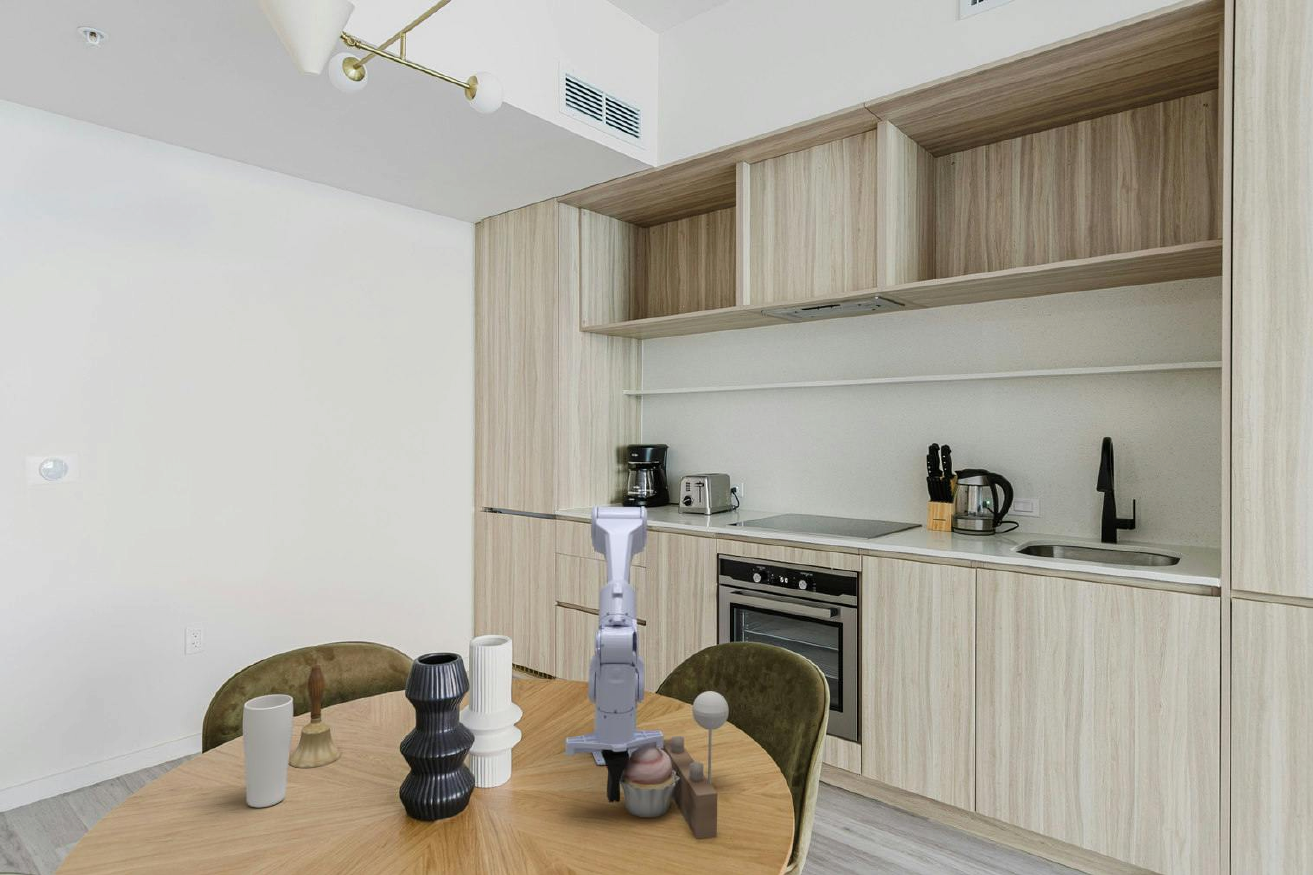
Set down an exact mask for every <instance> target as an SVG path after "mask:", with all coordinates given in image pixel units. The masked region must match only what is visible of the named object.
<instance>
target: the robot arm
mask: <svg viewBox="0 0 1313 875" xmlns="http://www.w3.org/2000/svg"><path fill="white" fill-rule="evenodd" d="M647 538H648V510H647V508H646V507H645V506H643V505H642V506H641V507H640V506H639V507H637V506H598V505H595V506H594V507H593V508H592V509H591V517H590V539H591V542H592V544H591V545H592V547H593V551H594V552H597V553H599V554H602V555H603V557H604V560H605V562H606V564H605V565H606V584H605V585H603V586H602V587H601V589H600V590H599V600H598V601H599V606H598V607H599V609H598V628H596V629H595V634H594V654H593V655H592V657H591V659H590V662H589V672H588V700H589V701H590V702H591V703H592V704H594V705H595V709H594V722H593V723H594V731H593V732H591V733H585V734H582V735H579V736H572V737H566V738H565V753H566V756H567V757H570V756H571V757H572V756H574V755H575V754H584V753H585V754H587V753H591V754H592V755H593V758H594V762H595V763H596V765H597V766H603V765H604V766H605V765H606V769H607V781H606V782H607V784H606V798H607V800H608V802H609V803H614V802H615V803H620V801H621V783H620V778H621V775H622V773H623V771H624V769H625V767H626V766H627V764H628V761H629V757H631V753H632V752H633V751H634V750H636V749H638V748H642V747H643V746H645V745H654V746H655V747H656V748H657V749H660V748H663V740H664V734H663V732H662V731H661V730H639V729H637V719H638V718H637V716H638V715H637V713H638V712H637V709H638V704H640V703H642V702H644V700H645V685H646V684H645V683H646V682H645V681H646V680H645V668H644V667H645V663H644V662H645V661H644V659H643V656H642V655H641V654H640V652H639V651H640V632H639V627H638V620H637V617H636V616H637V613H636V612H637V611H636V610H637V609H636V607H637V603H636V601H637V600H636V599H637V598H636V597H637V591H636V590H635V588H634V587H633V586H632V585H631V584H630V583H631V564H632V562H633V559H634V556H635V555H638V554H639V553H643V552H644V549H645V547H646V544H647Z"/></svg>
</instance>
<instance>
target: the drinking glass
mask: <svg viewBox="0 0 1313 875" xmlns="http://www.w3.org/2000/svg"><path fill="white" fill-rule="evenodd" d="M242 713H243V714H242V742H243V745H242V746H243V756H244V757H243V758H244V772H245V783H246V784H245V785H246V786H245V787H246V789H245V790H246V793H245V794H246V796H245V798H246V799H245V801H246V804H247V805H248V806H250V807H252V808H266V807H271V806H273V805H277V804H279V803H280V802H282V801H283V800H284V799H285V798H286V794H287V782H288V781H287V780H288V772H289V771H288V770H289V765H290V764H289V758H290V756H291V755H290V754H291V746H292V738H293V728H294V727H293V725H294V698H293V697H292V696H291V695H288V694H279V693H278V694H267V695H261V696H258V697H254V698H252V699H249V700H247V701H246V702H245V703H244V705H243V712H242Z"/></svg>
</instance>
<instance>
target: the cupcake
mask: <svg viewBox="0 0 1313 875" xmlns="http://www.w3.org/2000/svg"><path fill="white" fill-rule="evenodd" d="M679 779H680V778H679V777H678V776H676V772H675V771H674V770H672V765H671V760H670V757H669V756H668V755H667V754H666V753H665V752H664V751H663V750H661V749H660V748H659V749H657V748H656V747H655V746H654V745H645V746H643V747H642V748H637V749H636V750H634V751H633V752H632V753H631V757H629V761H628V764H627V766H626V767H625V769H624V771H623V773H622V775H621V778H620V787H622V790H623V796H624V802H625V807H626V809H627V810H628V812H629V813H630V814H632V815H634V816H637V817H640V818H656V817H657V818H658V817H659V816H662V815H664V814H665V813H667V812H668V810H669V807H670V803H671V799H672V793H673V790H674V788H675V786H676V784H677V783H678V781H679Z"/></svg>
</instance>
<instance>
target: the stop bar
mask: <svg viewBox="0 0 1313 875" xmlns="http://www.w3.org/2000/svg"><path fill="white" fill-rule="evenodd" d="M659 749H661V750H663V751H664V752H665V753H666V754H667V755H668V756H669V757H670V760H671V765H672V770H674V771H675V772H676V776H678V777H679V778H680V779H679V781H678V783H677V784H676V786H675V788H674V790H673V793H672V796H671V799H673V801H674V803H675V804H676V806H677V808H678V810H679V812H680V814H681V815H682V817H683V818H684V820H685V822H686V823H687V825H688V827H689V829H690V830H691V832H692V834H693V836H694V837H695V839H696V840H698V839H699V840H700V839H705V838H706V839H707V838H714V837H718V832H717V831H718V792H717V791H716V790H715V788H714V787H713V785H712V783H711V784H710V782H709V781H708V777H706V775H705V774H704V763H702V762H700V761H695V760H694V759H693V757H692V756H691V754H690V753H689V751H688V750H687V749H686V747H685V738H684V737H683V736H680V735H677V736H672V737H671V738H670V739H669V738H668V739H663V748H659Z"/></svg>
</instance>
